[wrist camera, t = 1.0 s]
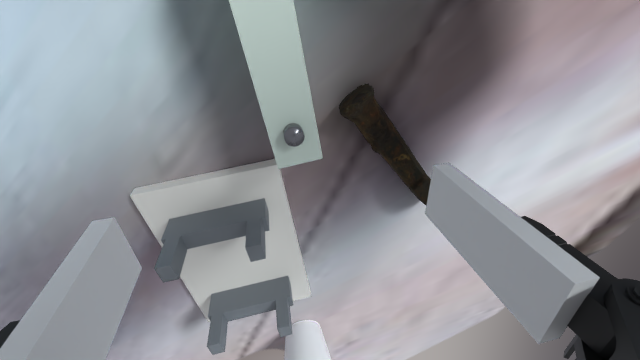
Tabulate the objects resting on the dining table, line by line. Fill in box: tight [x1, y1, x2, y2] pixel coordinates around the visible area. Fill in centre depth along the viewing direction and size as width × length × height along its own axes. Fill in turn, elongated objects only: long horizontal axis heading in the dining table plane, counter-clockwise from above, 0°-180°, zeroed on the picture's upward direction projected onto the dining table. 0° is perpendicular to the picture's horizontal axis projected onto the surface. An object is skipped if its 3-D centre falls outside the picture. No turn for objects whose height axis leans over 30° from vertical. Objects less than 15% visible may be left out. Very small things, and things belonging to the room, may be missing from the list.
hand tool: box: [339, 84, 431, 206], centre depth 34 cm, size 19×4×5 cm, turn 37°
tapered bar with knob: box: [229, 0, 323, 169], centre depth 23 cm, size 4×18×9 cm, turn 10°
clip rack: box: [130, 159, 312, 355], centre depth 35 cm, size 16×24×9 cm, turn 8°
